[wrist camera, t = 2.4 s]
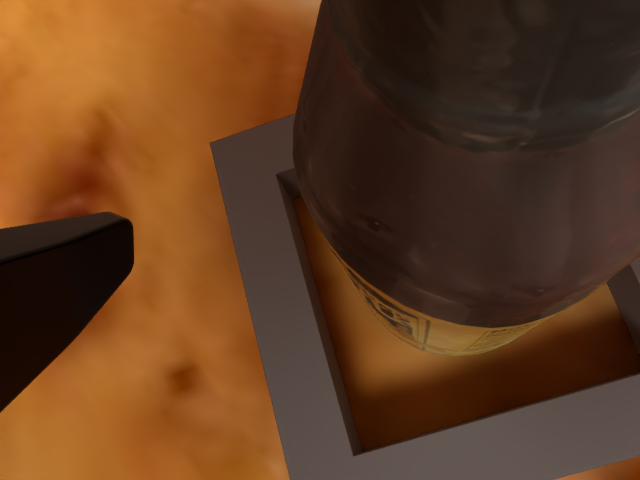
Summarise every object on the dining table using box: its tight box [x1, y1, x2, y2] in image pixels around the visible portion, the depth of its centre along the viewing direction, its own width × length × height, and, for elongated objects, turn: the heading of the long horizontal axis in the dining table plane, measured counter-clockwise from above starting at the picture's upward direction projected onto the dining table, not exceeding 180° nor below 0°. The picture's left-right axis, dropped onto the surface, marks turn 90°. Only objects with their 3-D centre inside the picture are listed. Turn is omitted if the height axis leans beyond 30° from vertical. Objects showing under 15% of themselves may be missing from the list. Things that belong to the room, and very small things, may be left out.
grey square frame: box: [210, 113, 640, 480], centre depth 20 cm, size 14×14×2 cm
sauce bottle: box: [293, 0, 640, 356], centre depth 11 cm, size 6×6×20 cm
